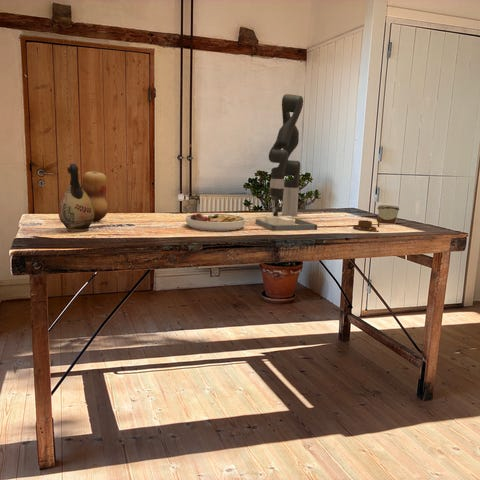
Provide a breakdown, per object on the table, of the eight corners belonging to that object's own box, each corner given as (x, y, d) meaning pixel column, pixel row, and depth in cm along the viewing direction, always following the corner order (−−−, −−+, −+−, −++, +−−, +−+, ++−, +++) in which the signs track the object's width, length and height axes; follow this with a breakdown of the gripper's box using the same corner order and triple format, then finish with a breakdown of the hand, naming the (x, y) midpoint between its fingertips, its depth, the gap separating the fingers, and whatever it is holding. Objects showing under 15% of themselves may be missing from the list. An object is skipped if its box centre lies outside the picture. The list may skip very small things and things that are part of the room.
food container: (395, 222, 280) (397, 205, 278) (398, 224, 274) (399, 206, 272) (374, 221, 281) (375, 204, 279) (376, 223, 275) (377, 205, 273)
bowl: (211, 221, 261) (211, 206, 260) (256, 227, 244) (257, 212, 243) (173, 227, 237) (173, 211, 235) (220, 235, 220) (221, 218, 218)
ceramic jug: (58, 228, 220) (55, 162, 214) (92, 227, 226) (91, 163, 220) (60, 234, 205) (57, 163, 199) (97, 233, 211) (96, 164, 205)
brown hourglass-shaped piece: (97, 224, 234) (96, 172, 229) (74, 222, 238) (72, 171, 233) (113, 220, 247) (112, 172, 242) (91, 218, 251) (90, 170, 246)
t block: (264, 223, 257) (264, 216, 256) (289, 223, 262) (289, 215, 262) (276, 228, 244) (276, 220, 243) (301, 227, 249) (302, 219, 248)
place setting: (345, 227, 258) (346, 216, 257) (378, 227, 263) (379, 216, 262) (362, 233, 241) (363, 221, 240) (397, 232, 247) (398, 221, 246)
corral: (255, 223, 255) (255, 219, 255) (297, 222, 264) (297, 218, 264) (272, 230, 235) (272, 225, 235) (317, 229, 244) (317, 224, 243)
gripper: (265, 186, 262) (264, 217, 266) (275, 188, 250) (274, 221, 254) (278, 186, 265) (276, 217, 268) (288, 188, 253) (286, 220, 256)
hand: (275, 218), depth 261 cm, fingers closed
